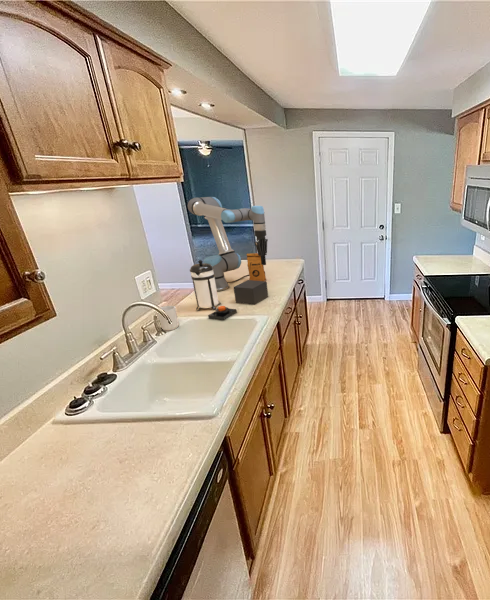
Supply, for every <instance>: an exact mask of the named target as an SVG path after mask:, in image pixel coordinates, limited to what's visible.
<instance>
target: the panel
mask: <svg viewBox="0 0 490 600" xmlns="http://www.w3.org/2000/svg"><path fill="white" fill-rule="evenodd" d="M225 307H226V310H223V311H218V308H216V310H214V311H212V312H211V313H210V314H207V317H208V319H209V320H217V321H225V320H227V319H229V318H231V317H232V316H234V315H235V314H237V313H238V310H237V309H236V308H229V307H227V306H225Z"/></svg>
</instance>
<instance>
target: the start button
mask: <svg viewBox="0 0 490 600" xmlns="http://www.w3.org/2000/svg"><path fill="white" fill-rule="evenodd" d="M226 307H227V306H226V305H219V306H218V307H217V309H218V311H223V310H226Z"/></svg>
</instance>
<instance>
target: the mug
mask: <svg viewBox="0 0 490 600" xmlns="http://www.w3.org/2000/svg"><path fill="white" fill-rule="evenodd" d="M159 308H161V309H162V310H164V311H165V313H166V314H167V315H168V316H169V317H170V319H171V321H172V324H169V323H168V322H167V320H166V319H165V318H164V317H162V316H161V315H160V314H159V313H157V312H156V311H155V313H156V317H158V318H159V320H160V323H161V327H162V329H163V330H162V329H161V330H162V331H164V332H169V331H173V330H176V329H177V328H179V325H180V322H179V318H178V313H177V306H176V305H164V306H160V307H159ZM158 318H157V319H158Z"/></svg>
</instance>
